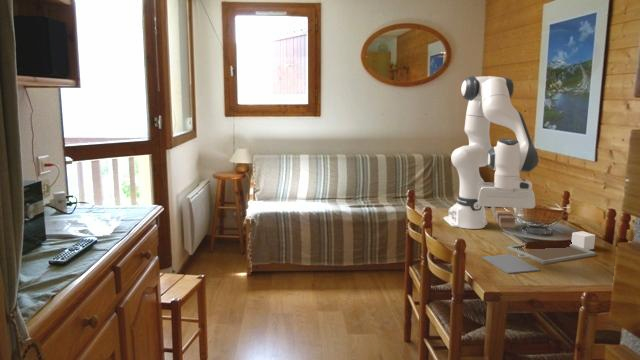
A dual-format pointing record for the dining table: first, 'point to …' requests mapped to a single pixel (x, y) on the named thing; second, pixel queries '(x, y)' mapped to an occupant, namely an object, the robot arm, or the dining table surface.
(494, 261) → the rubber mat
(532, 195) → the robot arm
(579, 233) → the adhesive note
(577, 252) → the flat tray
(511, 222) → the tan rectangular block
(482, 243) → the dining table surface
